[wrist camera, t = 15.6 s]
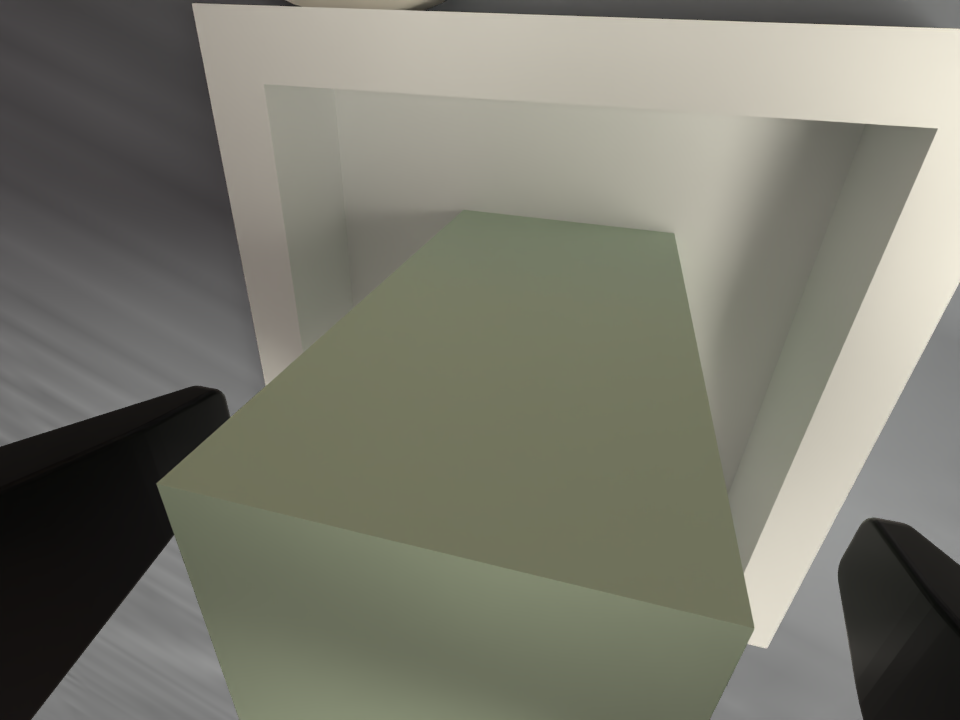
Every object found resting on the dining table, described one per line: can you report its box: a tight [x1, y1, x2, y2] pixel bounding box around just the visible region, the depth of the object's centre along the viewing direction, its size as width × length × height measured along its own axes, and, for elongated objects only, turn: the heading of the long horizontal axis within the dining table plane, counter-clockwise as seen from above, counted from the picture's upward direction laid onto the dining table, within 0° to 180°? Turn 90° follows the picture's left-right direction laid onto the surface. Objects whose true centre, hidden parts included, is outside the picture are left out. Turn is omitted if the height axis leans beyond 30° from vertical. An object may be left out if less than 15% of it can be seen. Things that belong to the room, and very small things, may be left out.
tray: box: [192, 3, 960, 648], centre depth 11 cm, size 11×11×3 cm
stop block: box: [156, 210, 755, 720], centre depth 8 cm, size 4×4×8 cm
